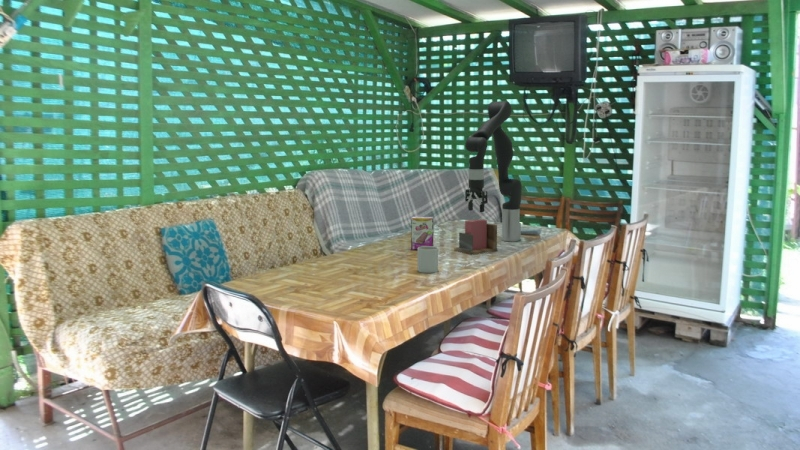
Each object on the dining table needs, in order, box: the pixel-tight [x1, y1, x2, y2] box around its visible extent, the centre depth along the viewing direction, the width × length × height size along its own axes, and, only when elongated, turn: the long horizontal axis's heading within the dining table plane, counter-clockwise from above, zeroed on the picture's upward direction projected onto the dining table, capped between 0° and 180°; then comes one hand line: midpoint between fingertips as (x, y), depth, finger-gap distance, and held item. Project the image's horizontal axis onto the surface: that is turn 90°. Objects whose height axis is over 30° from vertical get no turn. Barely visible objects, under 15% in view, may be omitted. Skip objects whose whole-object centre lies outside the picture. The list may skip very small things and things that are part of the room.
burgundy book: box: [464, 219, 488, 250], centre depth 332 cm, size 10×4×14 cm, turn 123°
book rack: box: [453, 222, 498, 256], centre depth 332 cm, size 17×13×13 cm
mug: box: [416, 246, 439, 274], centre depth 288 cm, size 11×10×10 cm
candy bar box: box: [410, 216, 435, 251], centre depth 337 cm, size 11×5×16 cm, turn 84°
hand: (476, 211), depth 330 cm, fingers open, 8 cm apart
